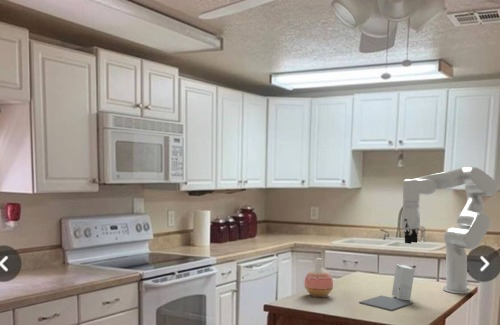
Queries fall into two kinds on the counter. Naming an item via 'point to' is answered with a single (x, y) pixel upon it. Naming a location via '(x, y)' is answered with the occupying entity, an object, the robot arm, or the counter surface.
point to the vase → (318, 281)
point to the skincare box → (403, 282)
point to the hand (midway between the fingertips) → (411, 242)
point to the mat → (386, 303)
